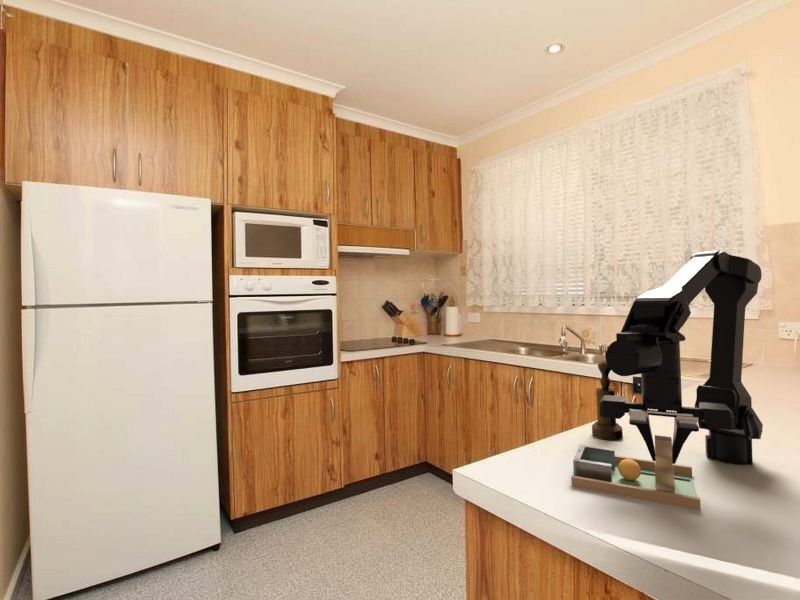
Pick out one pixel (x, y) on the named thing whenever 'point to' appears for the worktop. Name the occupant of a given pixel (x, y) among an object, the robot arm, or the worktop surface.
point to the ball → (629, 469)
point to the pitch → (646, 484)
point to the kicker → (664, 464)
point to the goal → (594, 462)
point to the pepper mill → (603, 426)
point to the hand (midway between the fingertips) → (663, 461)
